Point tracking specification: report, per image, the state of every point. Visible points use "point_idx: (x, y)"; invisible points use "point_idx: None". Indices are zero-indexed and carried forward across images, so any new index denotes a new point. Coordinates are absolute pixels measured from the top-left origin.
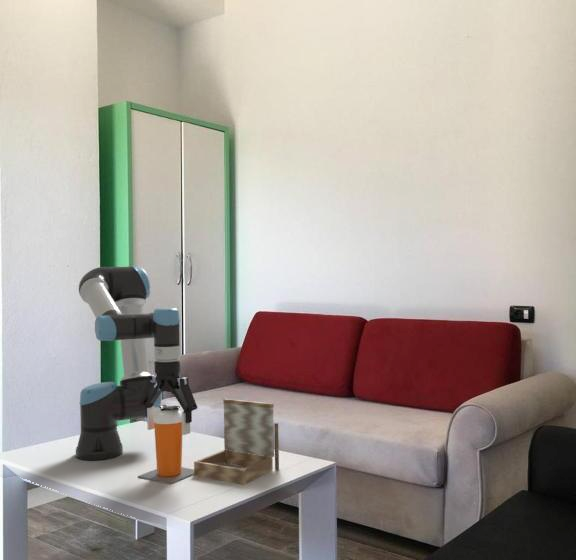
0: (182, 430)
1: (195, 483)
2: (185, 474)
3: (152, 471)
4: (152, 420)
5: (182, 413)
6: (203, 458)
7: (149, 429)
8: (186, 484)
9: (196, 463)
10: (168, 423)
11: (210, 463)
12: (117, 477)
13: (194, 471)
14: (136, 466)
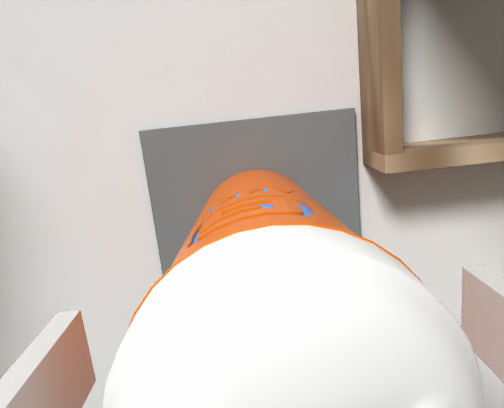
0: (484, 359)
1: (443, 240)
2: (335, 194)
3: (169, 248)
4: (56, 395)
5: None
6: (387, 93)
7: (93, 380)
8: (418, 270)
9: (399, 171)
10: None
11: (485, 145)
12: (100, 368)
13: (370, 165)
14: (20, 222)
